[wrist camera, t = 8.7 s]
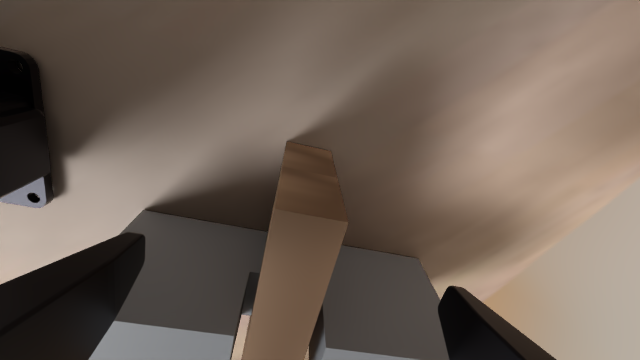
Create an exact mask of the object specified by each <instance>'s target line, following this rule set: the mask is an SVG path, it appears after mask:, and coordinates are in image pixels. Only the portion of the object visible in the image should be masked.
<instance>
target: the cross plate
mask: <svg viewBox="0 0 640 360" xmlns="http://www.w3.org/2000/svg"><path fill="white" fill-rule="evenodd" d="M348 223H349V222H348V218H347V214H346V210H345V206H344V202H343V198H342V194H341V190H340V186H339V182H338V178H337V174H336V170H335V166H334V162H333V158H332V154H331V151H328V150H323V149H319V148H314V147H310V146H305V145H301V144H296V143H292V142H287V143H286V148H285V152H284V157H283V162H282V167H281V172H280V176H279V181H278V186H277V191H276V195H275V200H274V205H273V210H272V215H271V219H270V224H269V229H268V235H267V240H266V245H265V250H264V255H263V260H262V265H261V270H260V275H259V280H258V284H257V289H256V294H255V299H254V303H253V308H252V313H251V316H250V320H249V325H248V330H247V334H246V339H245V344H244V349H243V354H242V359H241V360H304V358H305V355H306V352H307V349H308V346H309V342H310V339H311V336H312V333H313V330H314V327H315V324H316V321H317V318H318V315H319V312H320V309H321V306H322V303H323V300H324V297H325V294H326V291H327V287H328V284H329V281H330V278H331V275H332V272H333V269H334V266H335V263H336V260H337V257H338V254H339V251H340V248H341V245H342V242H343V239H344V236H345V232H346V229H347V226H348Z"/></svg>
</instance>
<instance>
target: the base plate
mask: <svg viewBox="0 0 640 360" xmlns="http://www.w3.org/2000/svg"><path fill="white" fill-rule="evenodd" d="M125 232H136V233H142V234H144V235H145V239H146V242H145V262H144V265H143V267H142V269H141V271H140V273H139V275H138V277H137V279H136V281H135V283H134V284H133V286H132V288H131V290H130V292H129V294H128V296H127V298H126V300H125V302H124V304H123V306H122V308H121V309H120V311H119V313H118V315H117V317H116V319H115V320H114V322H113V323H112V325H111V326H110V328H109V330H108V331H107V333H106V334H105V336H104V337H103V339H102V340H101V342H100V343H99V345H98V346H97V348H96V349H95V351H94V352H93V354H92V355H91V357H90V358H89V360H231V357H232V353H233V349H234V344H235V340H236V336H237V332H238V327H239V323H240V319H241V314H242V315H250V316H251V313H252V308H253V303H254V299H255V294H256V289H257V284H258V280H259V275H260V270H261V265H262V260H263V255H264V250H265V245H266V240H267V235H268V232H265V231H259V230H253V229H248V228H242V227H236V226H231V225H225V224H219V223H214V222H208V221H202V220H197V219H191V218H185V217H180V216H174V215H168V214H162V213H157V212H151V211H145V210H143V211H142V212H141V213H140V214H139V215H138V216H137V217H136V218H135V219H134V220H133V221H132V222H131V223H130V224H129V225H128V226H127V227H126V228H125V229H124V230H123V231H122V232H121V233H120V234H123V233H125ZM120 234H119V235H120ZM439 302H440V299H439V297H438V295H437V293H436V291H435V289H434V287H433V286H432V284H431V282H430V280H429V278H428V276H427V274H426V272H425V271H424V269H423V267H422V265H421V263H420V261H419V259H418V258H412V257H407V256H401V255H395V254H390V253H384V252H378V251H373V250H367V249H361V248H356V247H350V246H344V245H341V248H340V251H339V254H338V257H337V260H336V263H335V266H334V269H333V272H332V275H331V278H330V281H329V284H328V287H327V291H326V294H325V297H324V300H323V303H322V306H321V309H320V312H319V315H318V318H317V321H316V324H315V327H314V330H313V333H312V336H311V339H310V342H309V360H449V356H448V353H447V348H446V344H445V340H444V336H443V332H442V328H441V324H440V319H439V315H438V305H439Z"/></svg>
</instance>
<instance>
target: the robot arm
mask: <svg viewBox="0 0 640 360" xmlns="http://www.w3.org/2000/svg"><path fill="white" fill-rule="evenodd" d="M17 61H18V62H19V63H20V64H21V65H22V67H23V70H22V71H21V70H20V69H19V68H18V67H17ZM50 171H51V168H50V159H49V150H48V141H47V132H46V123H45V117H44V111H43V102H42V93H41V84H40V76H39V68H38V65H37V63H36V61H35V60H34V59H33V58H32V57H31V56H30V55H28V54H26V53H24V52H21V51H16V50H12V49H8V48H4V47H0V202H4V203H10V204H16V205H22V206H28V207H34V208H41V207H43V206H45V205H47V204H48V203H50V202H51V201H52V200H53V190H52V181H51V172H50ZM35 194H37V195H38V196H39V197H40V198H38V197H37V196H36V195H35ZM145 242H146V239H145V235H144V234H142V233H136V232H125V233H123V234H120V235H118V236H116V237H113V238H111V239H108V240H106V241H104V242H101V243H99V244H96V245H94V246H92V247H89V248H87V249H84V250H82V251H80V252H77V253H75V254H72V255H70V256H68V257H65V258H63V259H60V260H58V261H56V262H53V263H51V264H48V265H46V266H44V267H41V268H39V269H37V270H34V271H32V272H29V273H27V274H25V275H22V276H20V277H17V278H15V279H13V280H10V281H8V282H5V283H3V284H1V285H0V360H89V358H90V357H91V355H92V354H93V352H94V351H95V349H96V348H97V346H98V345H99V343H100V342H101V340H102V339H103V337H104V336H105V334H106V333H107V331H108V330H109V328H110V326H111V325H112V323H113V322H114V320H115V319H116V317H117V315H118V313H119V311H120V309H121V308H122V306H123V304H124V302H125V300H126V298H127V296H128V294H129V292H130V290H131V288H132V286H133V284H134V283H135V281H136V279H137V277H138V275H139V273H140V271H141V269H142V267H143V265H144V262H145ZM438 315H439V319H440V324H441V328H442V332H443V336H444V340H445V344H446V348H447V353H448V356H449V360H556V359H555V358H554V357H552V356H551V355H549V354H548V353H547V352H546V351H545V350H543V349H542V348H541V347H539V346H538V345H537V344H536V343H534V342H533V341H532V340H530V339H529V338H528V337H526V336H525V335H524V334H522V333H521V332H520V331H519V330H517V329H516V328H515V327H513V326H512V325H511V324H510V323H508V322H507V321H506V320H504V319H503V318H502V317H500V316H499V315H498V314H496V313H495V312H494V311H493V310H491V309H490V308H489V307H487V306H486V305H485V304H484V303H482V302H481V301H480V300H479V299H477V298H476V297H475V296H473V295H472V294H471V293H469V292H468V291H467V290H466V289H464V288H462V287H457V286H449V287H448V288H447V289H446V291H445V293H444V295H443V297H442V299H441V301H440V302H439V305H438Z"/></svg>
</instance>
